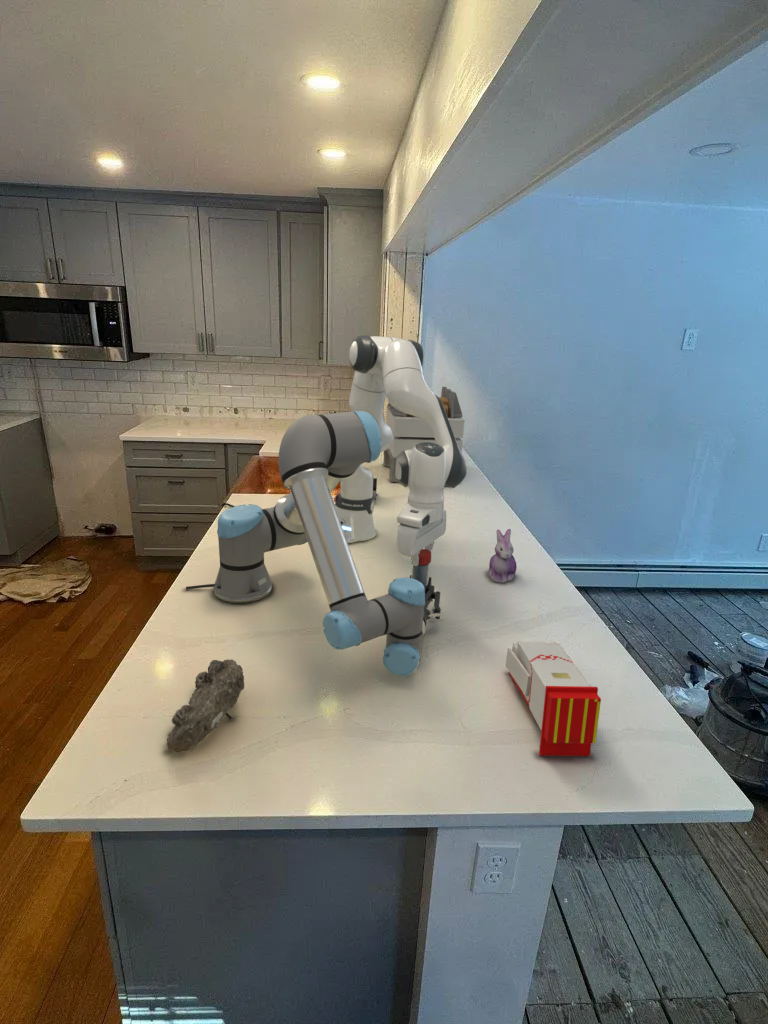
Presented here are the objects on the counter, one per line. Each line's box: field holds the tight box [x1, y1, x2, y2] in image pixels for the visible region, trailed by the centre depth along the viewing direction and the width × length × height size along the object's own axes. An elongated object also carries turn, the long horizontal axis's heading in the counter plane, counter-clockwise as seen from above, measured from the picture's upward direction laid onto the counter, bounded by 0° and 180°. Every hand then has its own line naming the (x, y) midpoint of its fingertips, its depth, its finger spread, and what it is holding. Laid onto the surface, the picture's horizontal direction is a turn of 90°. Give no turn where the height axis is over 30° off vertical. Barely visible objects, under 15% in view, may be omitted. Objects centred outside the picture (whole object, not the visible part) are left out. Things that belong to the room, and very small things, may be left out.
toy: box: [505, 641, 602, 757], centre depth 113 cm, size 12×13×30 cm
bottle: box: [410, 563, 430, 595], centre depth 146 cm, size 4×4×16 cm
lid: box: [410, 548, 432, 565], centre depth 144 cm, size 5×5×2 cm
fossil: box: [166, 658, 245, 754], centre depth 106 cm, size 22×10×15 cm
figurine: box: [488, 528, 518, 583], centre depth 168 cm, size 9×10×15 cm
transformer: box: [383, 386, 465, 483], centre depth 268 cm, size 34×33×41 cm
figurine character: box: [373, 477, 378, 500], centre depth 233 cm, size 7×8×15 cm
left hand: (420, 580), depth 152 cm, fingers closed on bottle, 4 cm apart
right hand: (421, 560), depth 144 cm, fingers closed on lid, 5 cm apart
